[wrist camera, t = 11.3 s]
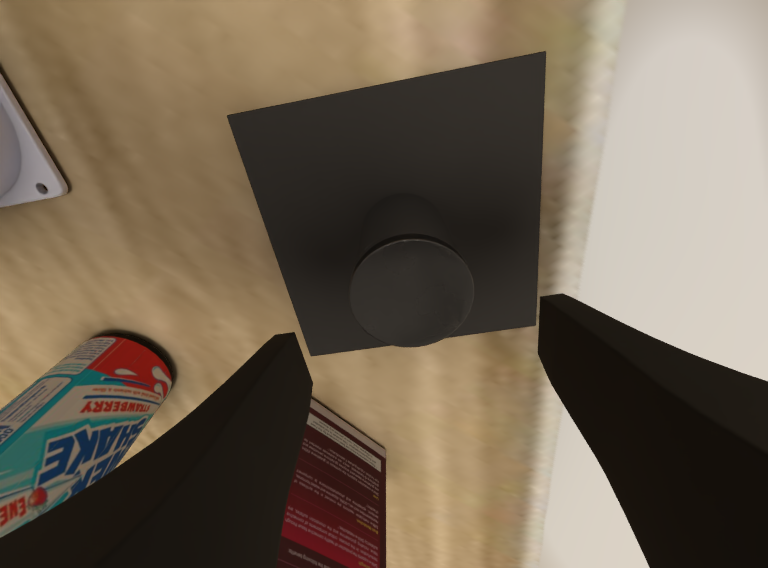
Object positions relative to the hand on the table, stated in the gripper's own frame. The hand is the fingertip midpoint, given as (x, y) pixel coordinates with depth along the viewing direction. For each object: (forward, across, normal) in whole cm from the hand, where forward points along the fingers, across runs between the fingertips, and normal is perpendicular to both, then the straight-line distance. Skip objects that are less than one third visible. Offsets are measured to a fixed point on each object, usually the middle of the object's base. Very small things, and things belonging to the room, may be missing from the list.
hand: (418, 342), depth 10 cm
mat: (+9, 0, 0) cm, 9 cm away
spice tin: (+9, 0, 0) cm, 9 cm away
